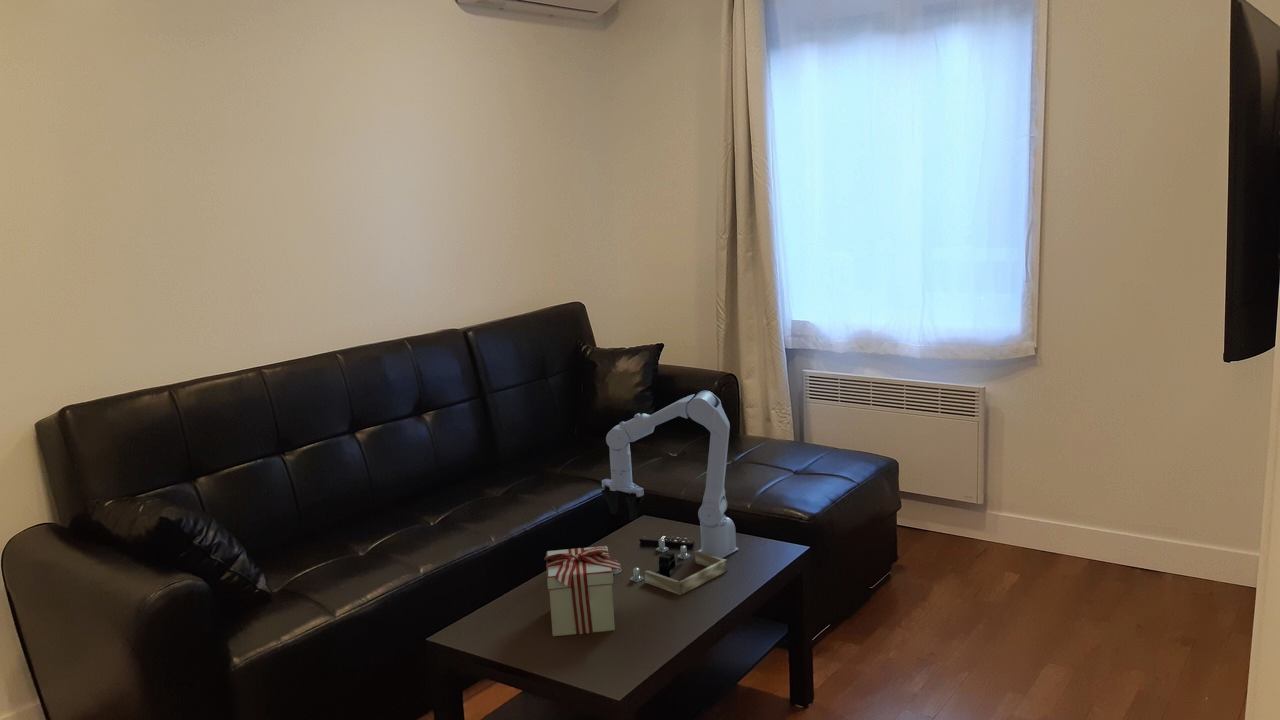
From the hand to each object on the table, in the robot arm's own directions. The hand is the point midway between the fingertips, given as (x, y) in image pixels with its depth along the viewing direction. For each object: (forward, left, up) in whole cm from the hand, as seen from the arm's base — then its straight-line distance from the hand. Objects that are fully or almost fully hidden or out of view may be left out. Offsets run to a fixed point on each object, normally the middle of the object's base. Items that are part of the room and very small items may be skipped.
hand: (624, 516), depth 261 cm
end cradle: (+4, +26, -9) cm, 28 cm away
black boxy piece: (+4, +19, -10) cm, 22 cm away
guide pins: (+4, +13, -9) cm, 17 cm away
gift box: (+37, +24, -10) cm, 45 cm away
